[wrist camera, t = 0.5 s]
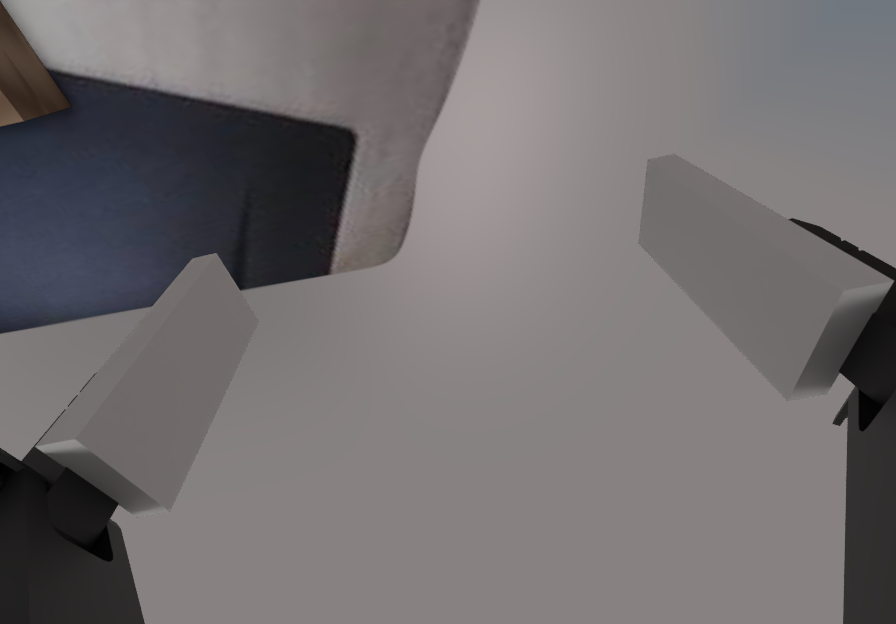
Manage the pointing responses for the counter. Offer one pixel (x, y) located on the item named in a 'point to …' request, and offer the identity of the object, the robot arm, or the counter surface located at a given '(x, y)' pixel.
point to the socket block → (23, 78)
